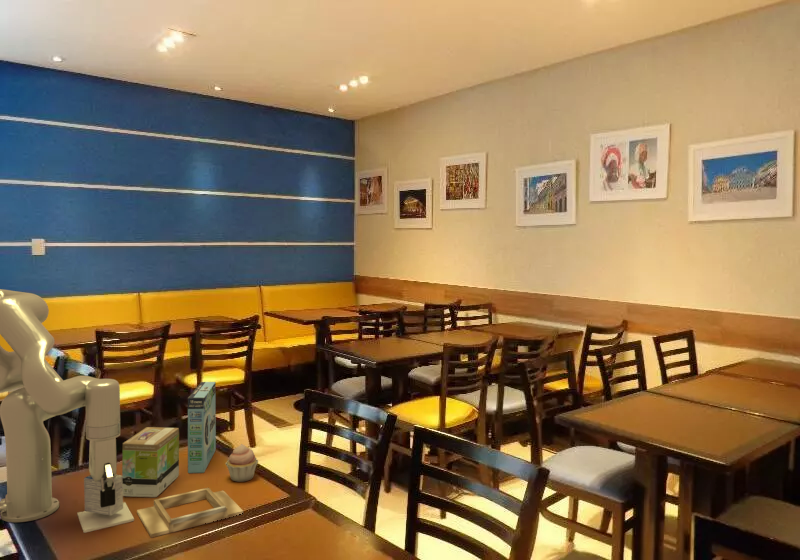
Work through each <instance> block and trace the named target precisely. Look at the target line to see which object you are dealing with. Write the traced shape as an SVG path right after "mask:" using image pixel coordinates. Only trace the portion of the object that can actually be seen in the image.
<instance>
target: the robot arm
mask: <svg viewBox="0 0 800 560" xmlns="http://www.w3.org/2000/svg"><path fill="white" fill-rule="evenodd" d="M48 315H49V306H48V303H47V302H46V301H45V299H43V298H42V297H41V296H40V295H37V294H35V293H32V292H24V291H23V292H22V291H17V290H16V291H15V290H10V289H3V288H2V289H1V288H0V335H1V337H2V339H4V340H5V342H6V343H7V344H8V345H9V346H10V348H11V349H12V351H8V350H6V349H5V348H3V346H1V345H0V394H2V393H6V392H10V391H12V392H10V393H9V394H7V395H6V396H5V397H4V398H3V399H2V401H1V404H0V421H1V424H2V428H3V432H4V433H3V434H4V439H5V440H4V441H5V459H6V460H5V463H6V464H5V465H6V492H7V494H5V498H0V519H1V520H2V521H5V522H8V523H25V522H32V521H35V520H39V519H40V520H41V519H42V518H45V517H47V516H49V515H52V514H54V513H55V512H56V511H57V510H58V509H59V507H60V500H58V498H55V497H53V492H52V491H53V489H52V488H53V487H52V486H53V485H52V483H53V482H52V454H51V453H52V451H51V437H50V434H49V432H48V430H47V428H46V427H45V424H44V421H47V420H48V419H51V418H53V417H56V416H61V415H64V414H67V413H70V412H71V411H74V410H76V409H80V408H83V407H85V435H86V436H85V439H86V441H87V440H88V441H89V449H88V450H89V454H88V458H89V460H88V470H89V475H91V476H92V478H93V480H94V481H95V482H97V481H99V480H100V482H101V490H102V491H100V506H101V507H107V506H112V505H115V485H114V478H115V477H116V475H117V469H118V468H117V466H118V465H117V439H116V438H119V437H120V436H121V401H120V400H121V394H120V383H119V381H118V380H116V379H114V378H96V377H93V376H89V375H77V376H73V377H70V378H67V379H63V378H62V377H61V376H60V375H59V374H58V373H57V371H56V370H55V369H54V367H53V366H52V365H51V364H50V363H49V361H48V360H47V359H46V355H47V353H49V352H50V350H52V348H54V345H55V338H54V336H53V335H52V334H51V333H50V332H49V331H48V329H47V328H46V326H44V324H43V323H44V322H45V321H47V319H48V317H49V316H48ZM103 476H106V477H104V478H102V477H103ZM104 481H106V482H105V484H104Z"/></svg>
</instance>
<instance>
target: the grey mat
mask: <svg viewBox="0 0 800 560" xmlns="http://www.w3.org/2000/svg"><path fill="white" fill-rule="evenodd" d="M77 517H78V520H79V523H80V526H81V529H82V531H83V534H84V533H85V534H86V533H89V532H93V531H97V530H103V529H107V528H110V527H115V526H119V525H122V524H127V523H131V522H134V521H135V518H134V516H133V514H132V512H131V510H130V509H129V507H128V505H127V503H126V501H123V509H122V510H120V511H118V512H116V513H115V514H113V515H111V516H110V515H104V514H98V513H92V512H86V511H85V510H84V511H78V512H77Z"/></svg>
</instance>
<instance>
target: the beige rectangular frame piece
mask: <svg viewBox="0 0 800 560" xmlns="http://www.w3.org/2000/svg"><path fill="white" fill-rule="evenodd" d="M202 500H207V501H208V503H209V504H210V505H211V506H212V507H213V508H209V509H206V510H201V511H197V512H193V513H189V514H185V515H181V516H177V517H173V518H172V517H171V516H170V515H169V513H168V512H167V510H166V509H168V508H173V507H177V506H181V505H182V506H183V505H185V504H189V503H194V502H197V501H198V502H199V501H202ZM242 513H243V514H244V510H243V509H242V508H241V507H240V506H239V505H238V504H237V502H235V501H234V499H233V498H231V497H230V496H229V494H227V492H226V491H224V490H219V491H213V490H211V488H210V487H205V488H200V489H196V490H192V491H191V490H190V491H187V492H181V493H178V494H177V493H176V494H173V495H169V496H165V497H161V498H156V499H153V506H150V507H149V506H148V507H145V508H140V509H136V514H137V515H138V517H139V519H140V521H141V523H142V524H143V526H144V528H145V530H146V531H147V533H148V536H149V537H150V538H151V539H152V538H155V537H158V536H164V535H167V534H172V533H175V532H178V531H183V530H186V529H191V528H194V527H199V526H201V525H206V524H210V523H214V522H217V520H218V521H221V519H222V520H225V518H226V519H229V517H230V518H233V516H234V517H237V516H240V515H239V514H241V515H243V514H242ZM236 515H237V516H236ZM213 521H214V522H213ZM205 523H206V524H205Z"/></svg>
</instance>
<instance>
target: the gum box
mask: <svg viewBox="0 0 800 560" xmlns="http://www.w3.org/2000/svg"><path fill="white" fill-rule="evenodd" d="M216 394H217V393H216V381H201V382H199V384H198V386H196V388H195V389H194V390H193V391H192V393H191V394H190V395H189V396H188V397H187V473H189V474H204V473H205V472H206V469H207V467H208V466H209V464H210V461H211V460H212V458H213V456H214V454H215V453H216V450H217V449H216V447H217V445H216V444H217V442H216V441H217V440H216V439H217V438H216V435H217V432H216V429H217V427H216V426H217V424H216V415H217V414H216V407H217V405H216V396H217V395H216Z"/></svg>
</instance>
